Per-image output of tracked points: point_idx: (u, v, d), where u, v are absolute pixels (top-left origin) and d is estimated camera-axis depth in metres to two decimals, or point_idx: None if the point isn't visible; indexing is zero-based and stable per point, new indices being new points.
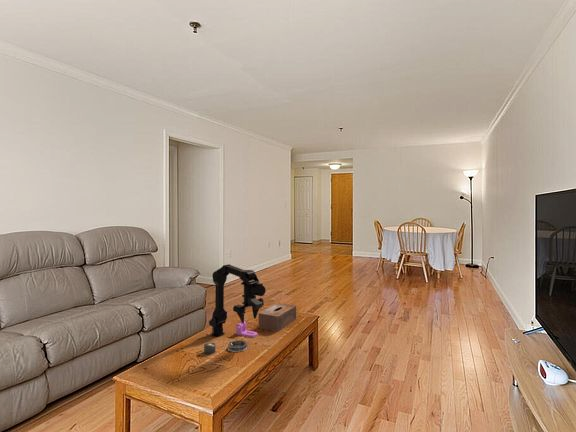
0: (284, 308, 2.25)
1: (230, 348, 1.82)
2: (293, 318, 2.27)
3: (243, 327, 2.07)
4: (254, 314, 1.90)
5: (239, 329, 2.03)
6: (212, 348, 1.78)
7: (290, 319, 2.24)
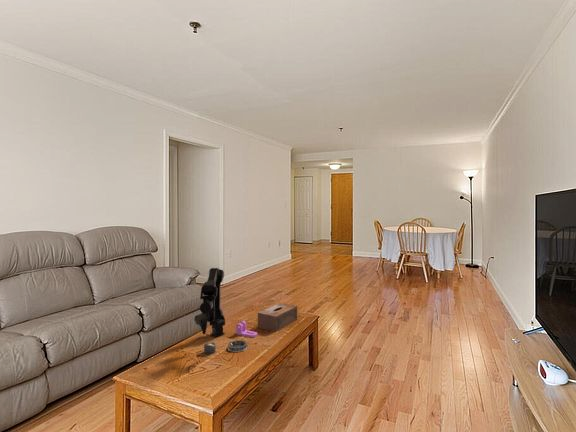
0: (284, 308, 2.25)
1: (230, 348, 1.82)
2: (294, 318, 2.26)
3: (243, 327, 2.07)
4: None
5: (239, 329, 2.03)
6: (212, 348, 1.78)
7: (290, 320, 2.23)
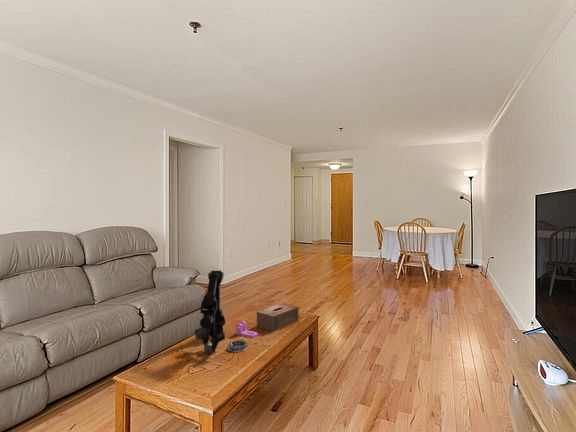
0: (285, 308, 2.24)
1: (230, 348, 1.82)
2: (294, 319, 2.25)
3: (243, 327, 2.07)
4: None
5: (239, 329, 2.03)
6: None
7: (290, 320, 2.22)
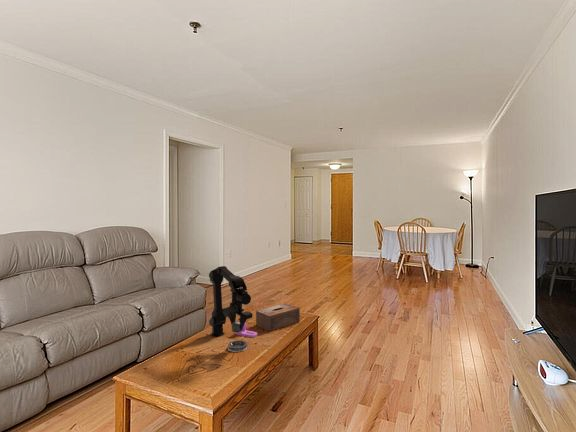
0: (285, 308, 2.23)
1: (230, 348, 1.82)
2: (294, 320, 2.23)
3: (243, 327, 2.07)
4: None
5: None
6: None
7: (290, 321, 2.20)
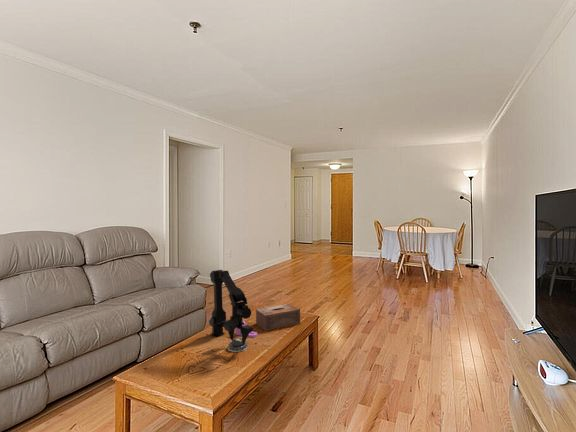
0: (285, 309, 2.22)
1: (230, 348, 1.82)
2: (294, 321, 2.21)
3: None
4: None
5: (239, 329, 2.03)
6: (240, 343, 1.83)
7: (289, 322, 2.19)
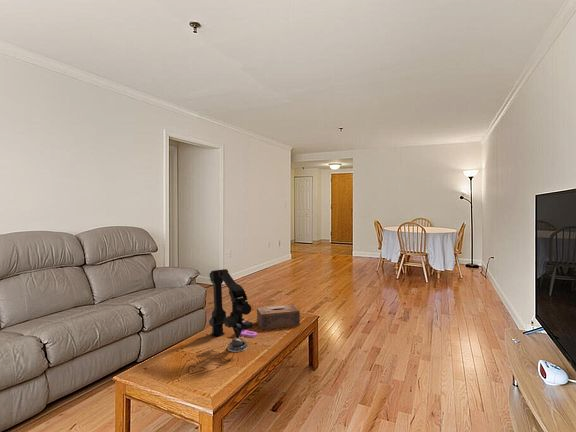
0: (284, 309, 2.21)
1: (230, 348, 1.82)
2: (293, 323, 2.18)
3: None
4: None
5: None
6: (240, 343, 1.83)
7: (287, 323, 2.17)
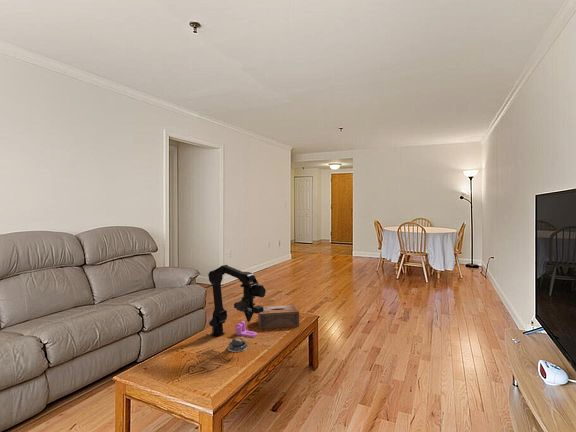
0: (284, 310, 2.21)
1: (230, 348, 1.82)
2: (292, 323, 2.17)
3: (242, 327, 2.07)
4: None
5: (239, 329, 2.03)
6: (240, 343, 1.83)
7: (286, 323, 2.17)
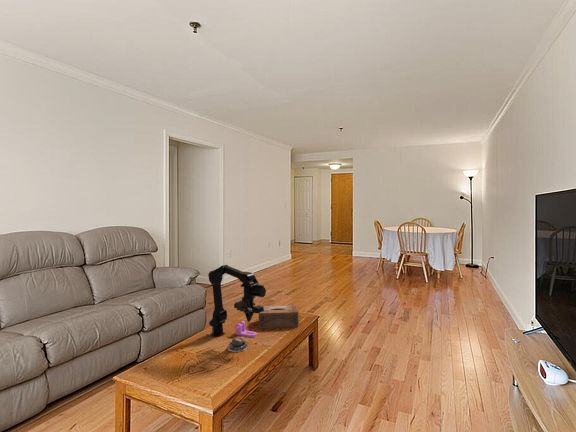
0: (284, 310, 2.20)
1: (230, 348, 1.82)
2: (291, 324, 2.16)
3: (242, 327, 2.07)
4: None
5: (239, 329, 2.03)
6: (240, 343, 1.83)
7: (285, 323, 2.16)
